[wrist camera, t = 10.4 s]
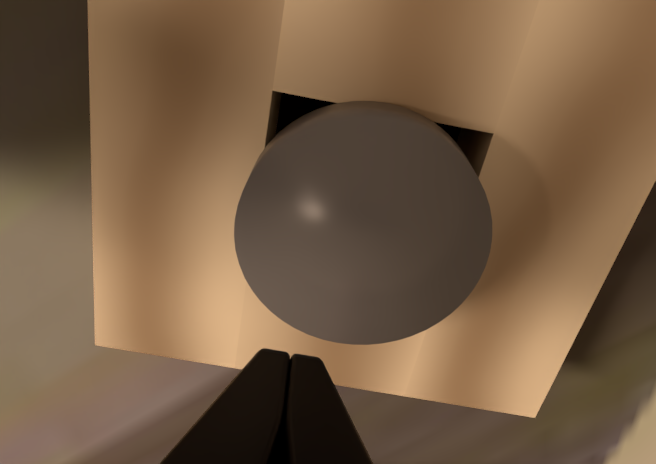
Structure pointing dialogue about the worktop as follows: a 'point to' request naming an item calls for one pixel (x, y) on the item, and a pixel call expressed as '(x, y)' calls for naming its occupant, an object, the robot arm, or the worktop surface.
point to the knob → (362, 224)
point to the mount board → (381, 86)
